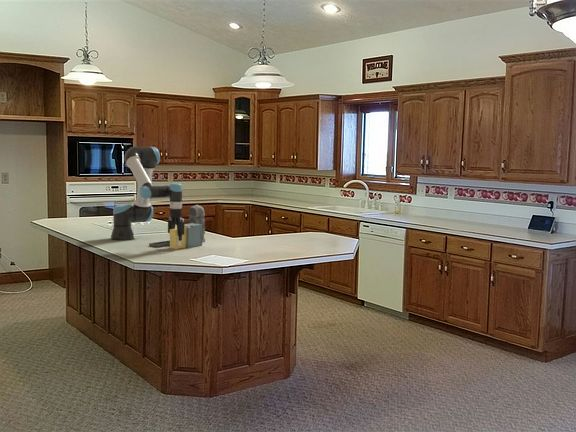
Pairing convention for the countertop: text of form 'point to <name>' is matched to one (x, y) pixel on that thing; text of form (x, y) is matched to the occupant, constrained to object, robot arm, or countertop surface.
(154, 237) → the countertop surface
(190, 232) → the dispenser
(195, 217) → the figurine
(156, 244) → the tray
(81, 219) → the countertop surface
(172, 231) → the yellow tall slab
